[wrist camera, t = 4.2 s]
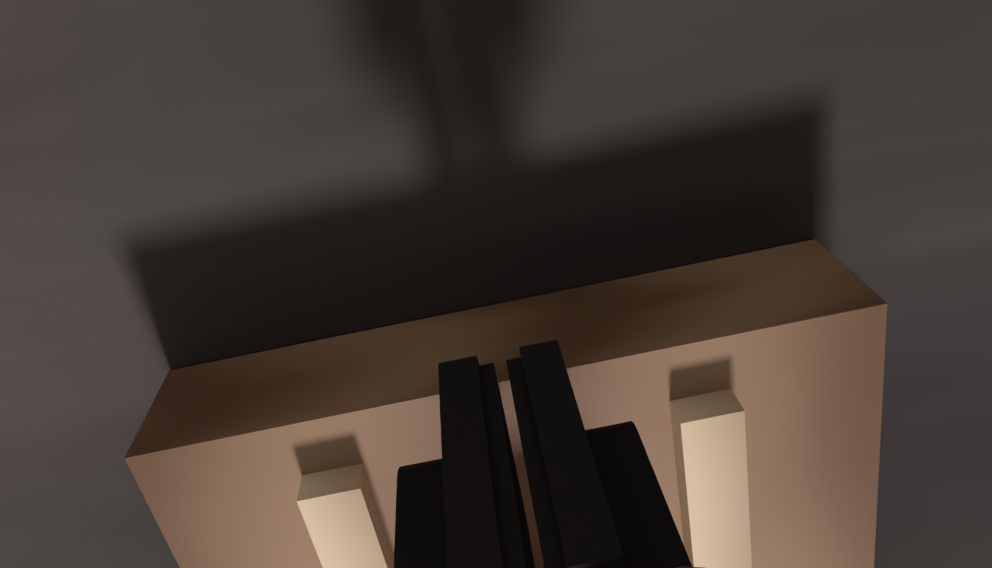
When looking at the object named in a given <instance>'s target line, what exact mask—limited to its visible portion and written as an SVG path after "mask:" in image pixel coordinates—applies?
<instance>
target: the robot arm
mask: <svg viewBox="0 0 992 568" xmlns="http://www.w3.org/2000/svg"><path fill="white" fill-rule="evenodd" d="M519 350H520V355H521V357H520V358H515V359H510V360H506V363H507V369H508V374H509V379H510V385H511V390H512V396H513V401H514V406H515V412H516V417H517V423H518V428H519V433H520V439H521V444H522V450H523V455H524V461H525V466H526V471H527V477H528V482H529V488H530V493H531V498H532V504H533V509H534V515H535V520H536V525H537V531H538V536H539V542H540V547H541V552H542V558H543V563H544V568H704V567H692V564H691V562H690V559H689V557H688V554H687V552H686V549H685V547H684V544H683V542H682V539H681V537H680V535H679V532H678V530H677V527H676V525H675V522H674V520H673V517H672V515H671V512H670V510H669V507H668V505H667V502H666V500H665V497H664V495H663V492H662V490H661V487H660V485H659V482H658V480H657V477H656V475H655V472H654V470H653V467H652V465H651V462H650V460H649V457H648V455H647V452H646V450H645V448H644V445H643V443H642V440H641V438H640V435H639V433H638V430H637V428H636V426H635V424H634V423H633V422H632V421H629V422H624V423H619V424H614V425H609V426H604V427H599V428H594V429H588V430H585V428H584V425H583V422H582V418H581V415H580V412H579V408H578V405H577V402H576V399H575V395H574V392H573V389H572V386H571V382H570V379H569V376H568V373H567V369H566V366H565V363H564V360H563V356H562V353H561V350H560V346H559V343H558V340H552V341H547V342H542V343H537V344H532V345H527V346H522V347H519ZM438 375H439V399H440V423H441V447H442V459H437V460H432V461H427V462H421V463H416V464H411V465H406V466H401V467H399V469H398V473H397V489H396V517H395V545H394V568H535V563H534V557H533V552H532V546H531V540H530V534H529V529H528V523H527V518H526V513H525V508H524V503H523V498H522V494H521V489H520V484H519V479H518V475H517V470H516V465H515V460H514V456H513V451H512V446H511V441H510V437H509V432H508V427H507V422H506V418H505V413H504V408H503V403H502V399H501V394H500V389H499V384H498V380H497V375H496V370H495V366H494V363H489V364H484V365H479V362H478V358H477V355H476V356H471V357H466V358H461V359H456V360H451V361H446V362H441V363H439V364H438Z"/></svg>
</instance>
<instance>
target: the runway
mask: <svg viewBox="0 0 992 568" xmlns="http://www.w3.org/2000/svg"><path fill="white" fill-rule="evenodd" d="M886 320H887V303H886V302H885V301H884V300H883V299H882V298H881V297H879V296H878V295H877V294H876V293H875V292H874V291H873V290H872V289H871V288H869V287H868V286H867V285H866V284H865V283H864V282H863V281H862V280H860V279H859V278H858V277H857V276H856V275H855V274H854V273H853V272H851V271H850V270H849V269H848V268H847V267H846V266H845V265H844V264H843V263H841V262H840V261H839V260H838V259H837V258H836V257H835V256H834V255H832V254H831V253H830V252H829V251H828V250H827V249H826V248H825V247H823V246H822V245H821V244H820V243H819V242H818V241H817V240H816V239H813V240H809V241H804V242H799V243H794V244H789V245H784V246H779V247H774V248H769V249H764V250H759V251H754V252H750V253H745V254H740V255H735V256H730V257H725V258H720V259H715V260H710V261H705V262H700V263H695V264H690V265H686V266H681V267H676V268H671V269H666V270H661V271H656V272H651V273H646V274H641V275H636V276H631V277H627V278H622V279H617V280H612V281H607V282H602V283H597V284H592V285H587V286H582V287H577V288H572V289H567V290H563V291H558V292H553V293H548V294H543V295H538V296H533V297H528V298H523V299H518V300H513V301H508V302H503V303H499V304H494V305H489V306H484V307H479V308H474V309H469V310H464V311H459V312H454V313H449V314H444V315H440V316H435V317H430V318H425V319H420V320H415V321H410V322H405V323H400V324H395V325H390V326H385V327H380V328H376V329H371V330H366V331H361V332H356V333H351V334H346V335H341V336H336V337H331V338H326V339H321V340H317V341H312V342H307V343H302V344H297V345H292V346H287V347H282V348H277V349H272V350H267V351H262V352H257V353H253V354H248V355H243V356H238V357H233V358H228V359H223V360H218V361H213V362H208V363H203V364H198V365H193V366H189V367H184V368H179V369H174V370H169V372H168V374H167V376H166V378H165V380H164V382H163V384H162V386H161V388H160V390H159V392H158V394H157V396H156V398H155V400H154V402H153V403H152V405H151V407H150V409H149V411H148V413H147V415H146V417H145V419H144V421H143V423H142V425H141V427H140V429H139V431H138V433H137V435H136V437H135V439H134V441H133V443H132V445H131V447H130V448H129V450H128V452H127V454H126V456H125V460H126V462H127V464H128V466H129V468H130V470H131V472H132V474H133V476H134V478H135V480H136V482H137V484H138V486H139V488H140V490H141V492H142V494H143V496H144V498H145V500H146V502H147V504H148V506H149V508H150V510H151V512H152V514H153V516H154V518H155V520H156V522H157V523H158V525H159V527H160V529H161V531H162V533H163V535H164V537H165V539H166V541H167V543H168V545H169V547H170V549H171V551H172V553H173V555H174V557H175V559H176V561H177V563H178V565H179V567H180V568H394V545H395V517H396V489H397V473H398V469H399V467H401V466H406V465H411V464H416V463H421V462H427V461H432V460H437V459H442V447H441V423H440V399H439V375H438V364H439V363H441V362H446V361H451V360H456V359H461V358H466V357H471V356H476V355H477V358H478V362H479V365H484V364H489V363H494V366H495V370H496V375H497V380H498V384H499V389H500V394H501V399H502V403H503V408H504V413H505V418H506V422H507V427H508V432H509V437H510V441H511V446H512V451H513V456H514V460H515V465H516V470H517V475H518V479H519V484H520V489H521V494H522V498H523V503H524V508H525V513H526V518H527V523H528V529H529V534H530V540H531V546H532V552H533V557H534V563H535V568H544V563H543V558H542V552H541V547H540V542H539V536H538V531H537V525H536V520H535V515H534V509H533V504H532V498H531V493H530V488H529V482H528V477H527V471H526V466H525V461H524V455H523V450H522V444H521V439H520V433H519V428H518V423H517V417H516V412H515V406H514V401H513V396H512V390H511V385H510V379H509V374H508V369H507V363H506V360H510V359H515V358H520V357H521V355H520V350H519V347H522V346H527V345H532V344H537V343H542V342H547V341H552V340H558V343H559V346H560V350H561V353H562V356H563V360H564V363H565V366H566V369H567V373H568V376H569V379H570V382H571V386H572V389H573V392H574V395H575V399H576V402H577V405H578V408H579V412H580V415H581V418H582V422H583V425H584V428H585V430H588V429H594V428H599V427H604V426H609V425H614V424H619V423H624V422H629V421H632V422H633V423H634V424H635V426H636V428H637V430H638V433H639V435H640V438H641V440H642V443H643V445H644V448H645V450H646V452H647V455H648V457H649V460H650V462H651V465H652V467H653V470H654V472H655V475H656V477H657V480H658V482H659V485H660V487H661V490H662V492H663V495H664V497H665V500H666V502H667V505H668V507H669V510H670V512H671V515H672V517H673V520H674V522H675V525H676V527H677V530H678V532H679V535H680V537H681V539H682V542H683V544H684V547H685V549H686V552H687V554H688V557H689V559H690V562H691V564H692V567H704V568H874V555H875V536H876V516H877V496H878V477H879V457H880V438H881V418H882V399H883V379H884V359H885V340H886Z"/></svg>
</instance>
